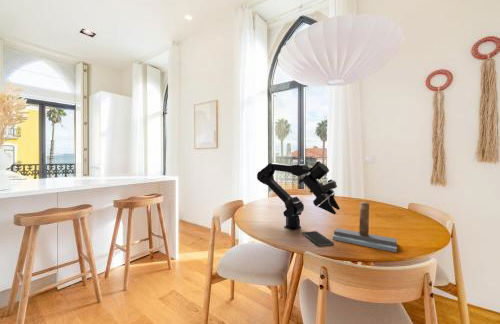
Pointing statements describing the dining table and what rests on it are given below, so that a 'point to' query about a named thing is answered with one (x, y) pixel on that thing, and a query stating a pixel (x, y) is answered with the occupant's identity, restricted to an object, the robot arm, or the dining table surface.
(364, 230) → the walnut dowel
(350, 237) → the stand
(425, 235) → the dining table surface
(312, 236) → the phone
